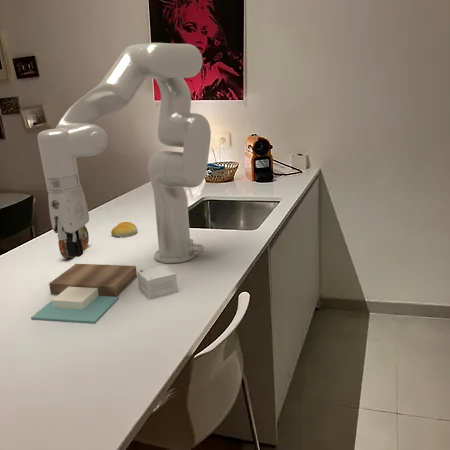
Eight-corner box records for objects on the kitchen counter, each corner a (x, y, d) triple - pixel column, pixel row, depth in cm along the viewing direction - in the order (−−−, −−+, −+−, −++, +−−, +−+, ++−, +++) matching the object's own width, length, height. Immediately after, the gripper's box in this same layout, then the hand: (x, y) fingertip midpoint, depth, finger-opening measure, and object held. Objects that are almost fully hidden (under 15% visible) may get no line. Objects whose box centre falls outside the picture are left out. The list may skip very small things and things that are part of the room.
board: (136, 276, 141) (135, 265, 141) (115, 297, 128) (114, 286, 127) (77, 273, 145) (75, 263, 144) (50, 294, 132) (49, 283, 131)
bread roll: (108, 238, 176) (106, 227, 175) (119, 230, 185) (118, 219, 183) (130, 238, 174) (129, 227, 173) (140, 230, 183) (139, 220, 181)
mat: (118, 298, 128) (118, 296, 128) (95, 323, 116) (94, 321, 115) (60, 295, 131) (60, 293, 131) (31, 319, 119) (31, 317, 119)
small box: (178, 292, 130) (176, 273, 129) (149, 299, 127) (147, 280, 125) (166, 282, 137) (164, 264, 135) (138, 289, 133) (136, 270, 132)
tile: (98, 295, 129) (97, 288, 128) (83, 309, 122) (82, 302, 121) (69, 293, 131) (68, 286, 130) (52, 307, 123) (51, 300, 123)
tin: (68, 262, 155) (64, 235, 152) (59, 261, 156) (55, 235, 153) (90, 245, 169) (87, 220, 167) (82, 245, 170) (78, 220, 167)
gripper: (61, 191, 112) (75, 268, 118) (92, 174, 126) (103, 244, 132) (30, 191, 114) (46, 267, 120) (64, 175, 128) (76, 244, 134)
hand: (76, 255), depth 126 cm, fingers closed
